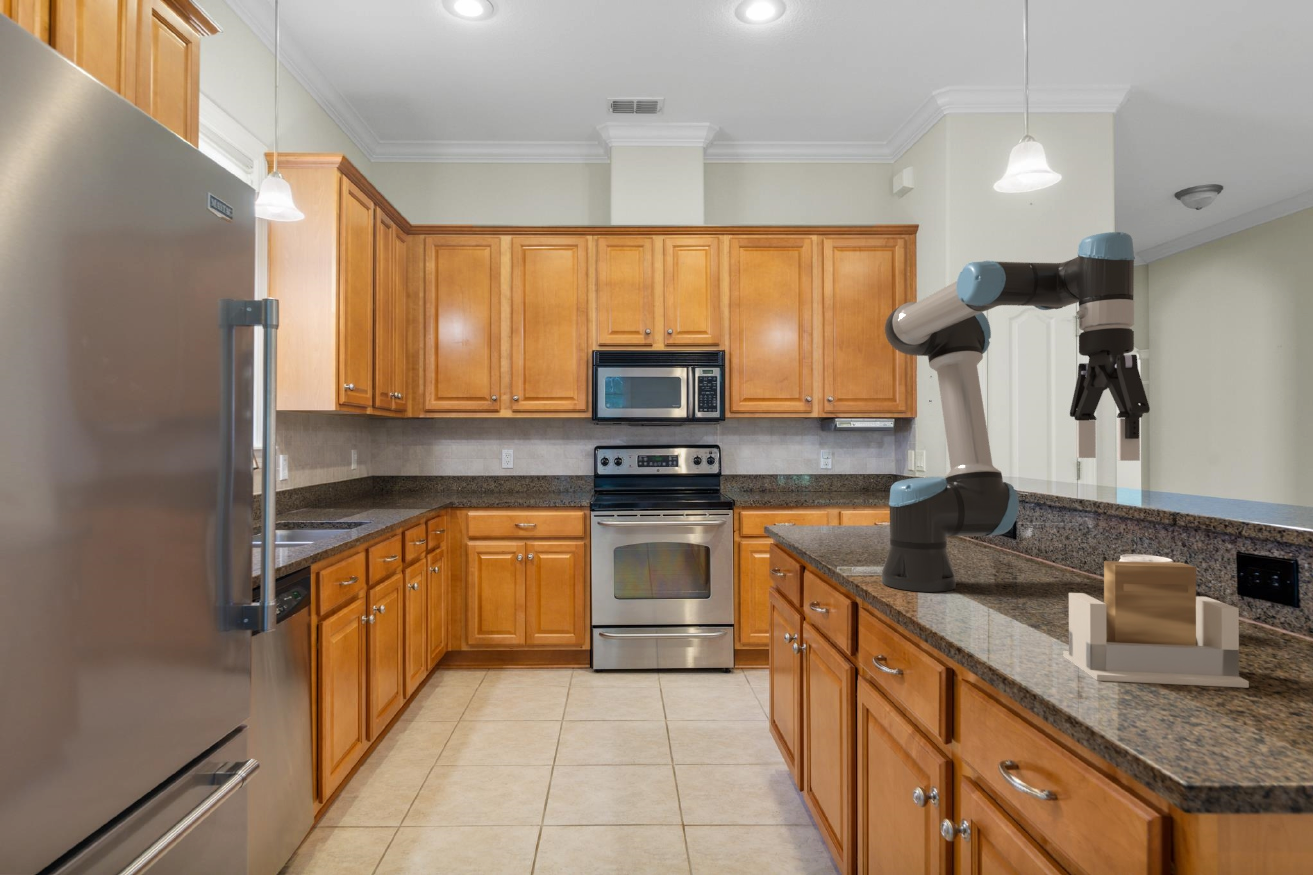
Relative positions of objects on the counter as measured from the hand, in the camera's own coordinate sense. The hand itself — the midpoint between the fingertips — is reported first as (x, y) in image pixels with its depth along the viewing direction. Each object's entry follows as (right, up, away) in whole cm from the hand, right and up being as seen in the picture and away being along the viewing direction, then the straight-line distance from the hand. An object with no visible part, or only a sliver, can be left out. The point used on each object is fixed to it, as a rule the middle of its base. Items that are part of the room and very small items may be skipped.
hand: (1106, 459), depth 110 cm
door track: (-6, -29, -17) cm, 34 cm away
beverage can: (+9, -29, +3) cm, 30 cm away
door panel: (-6, -28, -17) cm, 33 cm away
